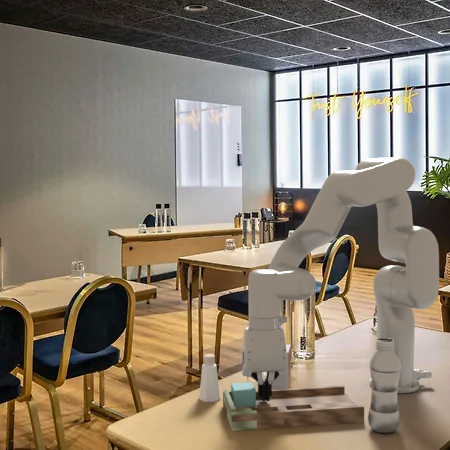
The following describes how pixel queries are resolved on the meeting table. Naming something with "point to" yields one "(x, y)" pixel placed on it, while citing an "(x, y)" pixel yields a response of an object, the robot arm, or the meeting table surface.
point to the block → (243, 394)
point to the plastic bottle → (384, 387)
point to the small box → (285, 379)
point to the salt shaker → (209, 380)
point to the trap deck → (294, 409)
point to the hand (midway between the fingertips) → (264, 399)
